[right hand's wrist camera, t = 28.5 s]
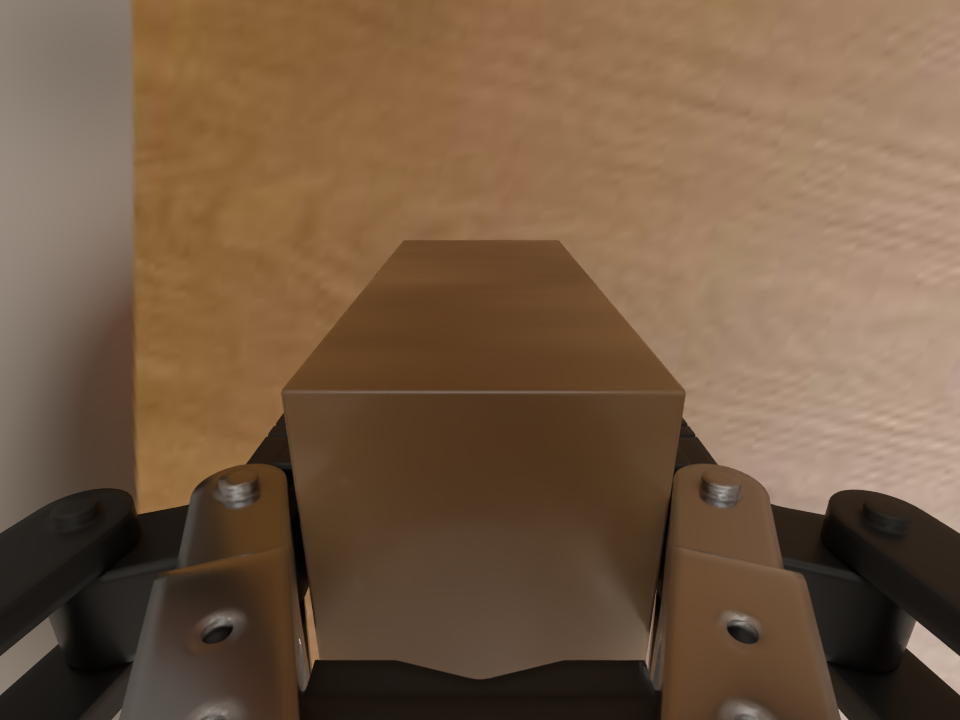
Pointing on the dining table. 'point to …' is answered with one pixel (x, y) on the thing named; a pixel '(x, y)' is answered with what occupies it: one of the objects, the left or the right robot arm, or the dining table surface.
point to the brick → (482, 464)
